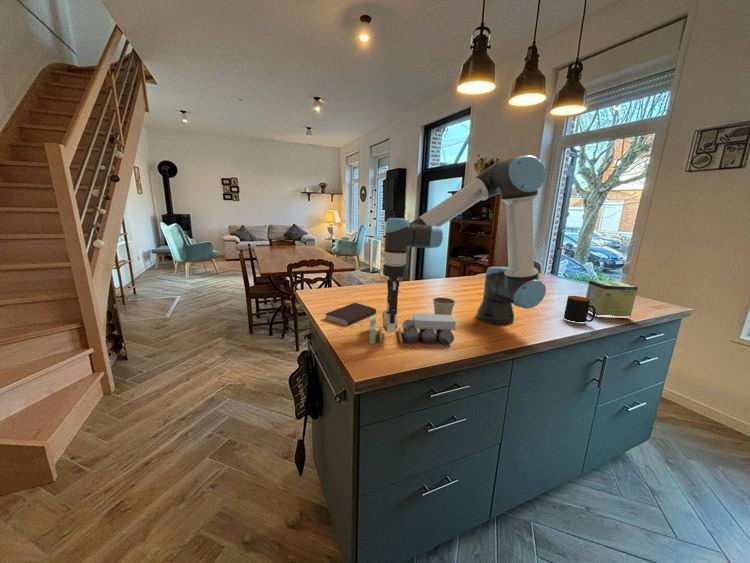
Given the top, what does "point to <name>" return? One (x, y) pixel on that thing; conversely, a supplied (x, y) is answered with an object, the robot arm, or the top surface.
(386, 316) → the roller
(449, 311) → the flower pot
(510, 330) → the top surface
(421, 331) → the roller track
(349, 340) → the top surface
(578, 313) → the mug
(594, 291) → the protein box
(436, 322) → the slab
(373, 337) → the stop fence
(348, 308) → the book
